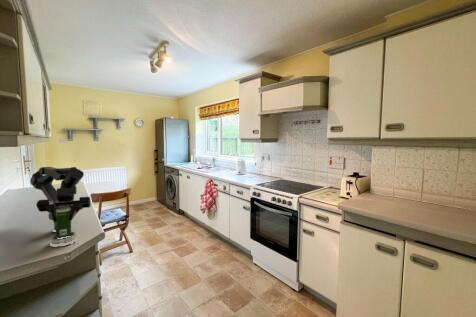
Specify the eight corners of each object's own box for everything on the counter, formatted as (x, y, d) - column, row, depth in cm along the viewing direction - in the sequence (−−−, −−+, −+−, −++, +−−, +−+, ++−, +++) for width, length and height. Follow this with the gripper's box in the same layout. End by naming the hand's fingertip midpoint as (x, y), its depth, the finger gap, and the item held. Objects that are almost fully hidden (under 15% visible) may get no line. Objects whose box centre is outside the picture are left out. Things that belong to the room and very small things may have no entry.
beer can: (72, 235, 95) (72, 208, 95) (56, 238, 92) (56, 210, 91) (70, 231, 99) (69, 205, 98) (54, 234, 95) (54, 207, 94)
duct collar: (52, 240, 97) (52, 233, 97) (79, 236, 102) (79, 229, 102) (45, 249, 89) (45, 242, 88) (76, 244, 93) (76, 237, 93)
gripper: (37, 181, 93) (28, 214, 84) (89, 179, 102) (87, 209, 93) (43, 195, 100) (35, 227, 91) (91, 192, 109) (89, 221, 100)
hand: (62, 220), depth 94 cm, fingers closed on beer can, 5 cm apart
